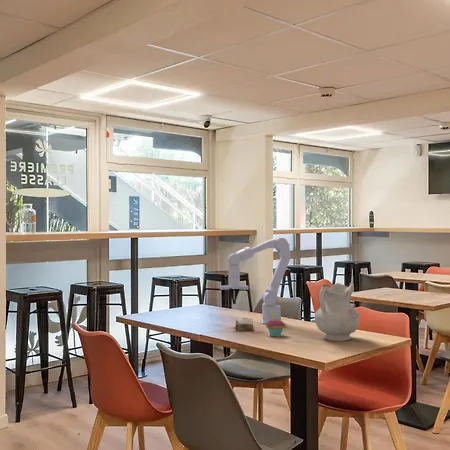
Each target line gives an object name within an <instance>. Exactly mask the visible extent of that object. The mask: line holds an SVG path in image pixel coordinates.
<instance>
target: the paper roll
mask: <svg viewBox="0 0 450 450" xmlns="http://www.w3.org/2000/svg"><path fill="white" fill-rule="evenodd" d="M237 321H238V324H253V318H252V317H248V316H247V317H238V319H237Z"/></svg>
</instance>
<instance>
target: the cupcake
mask: <svg viewBox="0 0 450 450" xmlns="http://www.w3.org/2000/svg"><path fill="white" fill-rule="evenodd" d="M271 310H272V309H271ZM271 313H272V320H270V321H268V322H267V324H265V326H266V328H267V329H268V332H269V334H270V336H271V337H281V335H282V334H283V333H282V332H283V329H286V325H285V324H286V323H285V322H283V321H282V319H281V320H276V319H275V320H274V316H273V311H271Z"/></svg>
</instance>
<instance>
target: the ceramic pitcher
mask: <svg viewBox="0 0 450 450" xmlns="http://www.w3.org/2000/svg"><path fill="white" fill-rule="evenodd" d="M354 285H355V284H354V283H352V282H349V286H346V285H345V284H342V283H340V282H337V283H334V284H332V285H331V287H330V288H329V286H330V285H329V284H328V283H326V284H325V283H324V284H323V285H322V286H321V288H320V290H319V294H318V298H319V304H320V305H319V306H320V307H319V308H318V309H317V310H316V311H315V314H314V322H315V324H316V327H317V329H318V330H319V331H321V332H322V333H324V334H325V335H324V339H325V340H328V341H333V342H337V341H338V342H339V341H340V342H345V341H349V340H352V339H353V338H352V337H351V336H350V335H352V334H353V333H355V332H356V330H357V329H358V328H359V326H360V322H361V317H360V312H359V311H357V310H356V309H355V308H354V307H353V306H352V304H351V298H352V295H353V292H354V288H355V287H354Z"/></svg>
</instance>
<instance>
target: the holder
mask: <svg viewBox="0 0 450 450" xmlns="http://www.w3.org/2000/svg"><path fill="white" fill-rule="evenodd" d="M235 331H236V332H253V331H254V324H253V323H252V324H238V320H235Z"/></svg>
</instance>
